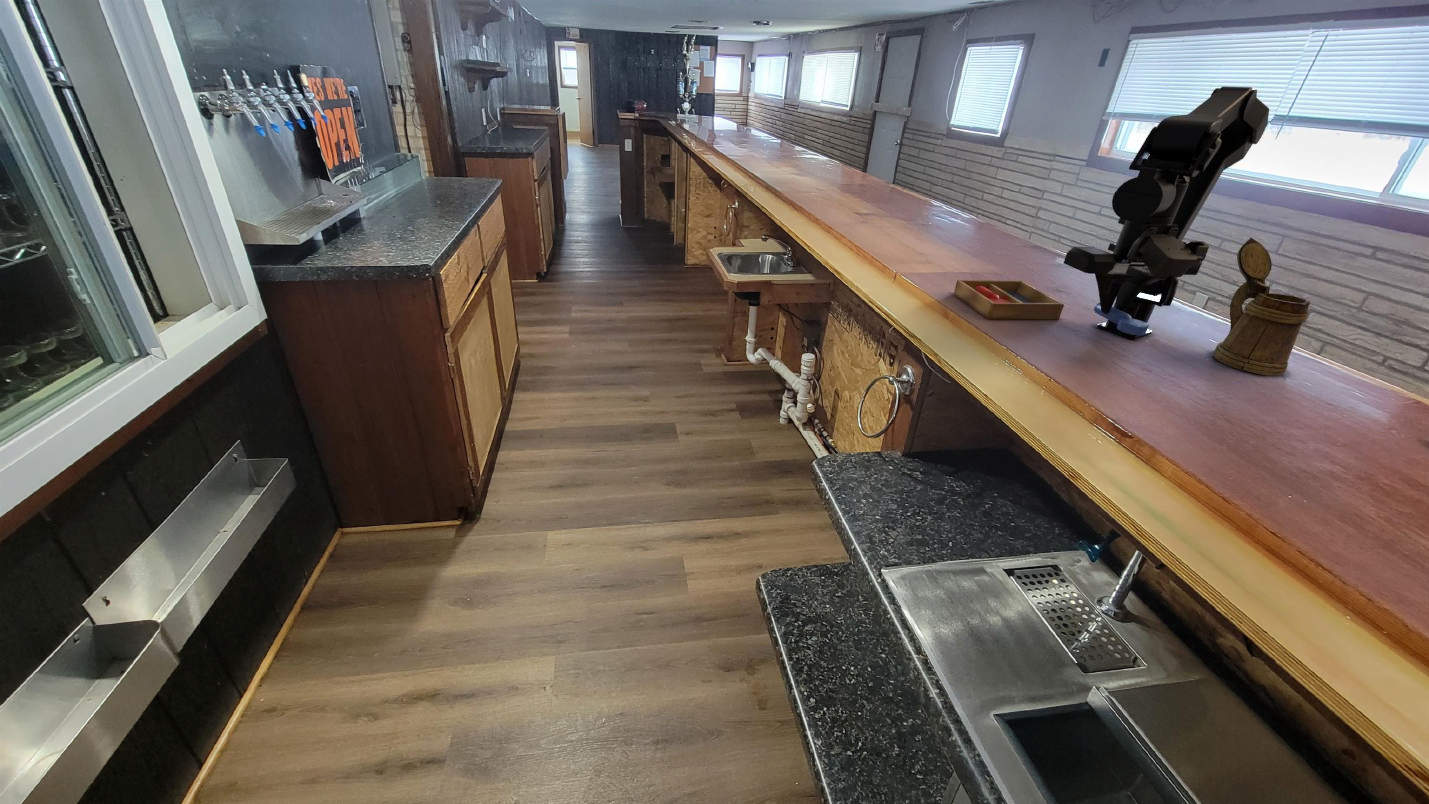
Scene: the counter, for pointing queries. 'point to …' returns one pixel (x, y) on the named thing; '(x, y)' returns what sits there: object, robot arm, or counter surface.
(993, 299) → the red spoon
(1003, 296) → the cutlery tray
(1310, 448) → the counter surface
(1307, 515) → the counter surface
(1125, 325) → the blue spoon
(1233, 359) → the wooden mug
